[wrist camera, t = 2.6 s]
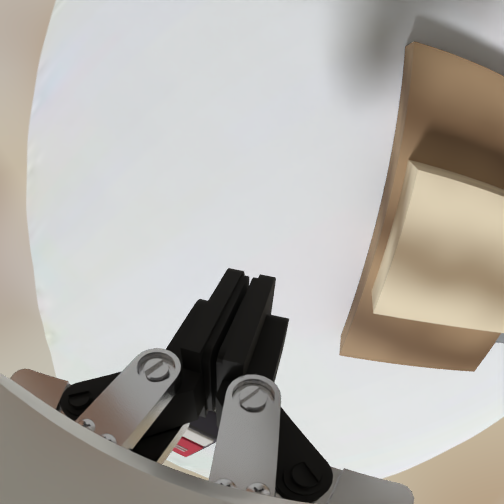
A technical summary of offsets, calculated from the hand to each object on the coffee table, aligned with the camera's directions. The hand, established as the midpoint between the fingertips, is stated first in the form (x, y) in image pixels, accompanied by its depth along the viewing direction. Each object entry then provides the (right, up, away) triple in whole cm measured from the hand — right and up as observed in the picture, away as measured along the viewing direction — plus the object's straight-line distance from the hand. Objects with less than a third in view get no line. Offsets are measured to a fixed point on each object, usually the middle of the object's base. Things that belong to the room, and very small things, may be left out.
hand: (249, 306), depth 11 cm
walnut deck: (+13, +3, +5) cm, 14 cm away
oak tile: (+12, +2, +3) cm, 13 cm away
